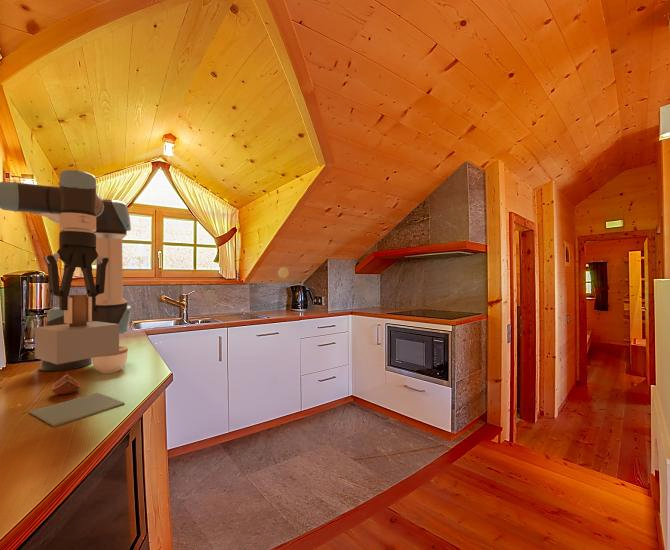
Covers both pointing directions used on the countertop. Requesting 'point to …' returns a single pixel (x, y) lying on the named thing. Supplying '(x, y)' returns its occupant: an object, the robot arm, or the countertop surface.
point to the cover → (76, 337)
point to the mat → (75, 409)
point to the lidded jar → (111, 361)
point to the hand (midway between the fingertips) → (78, 322)
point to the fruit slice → (65, 385)
